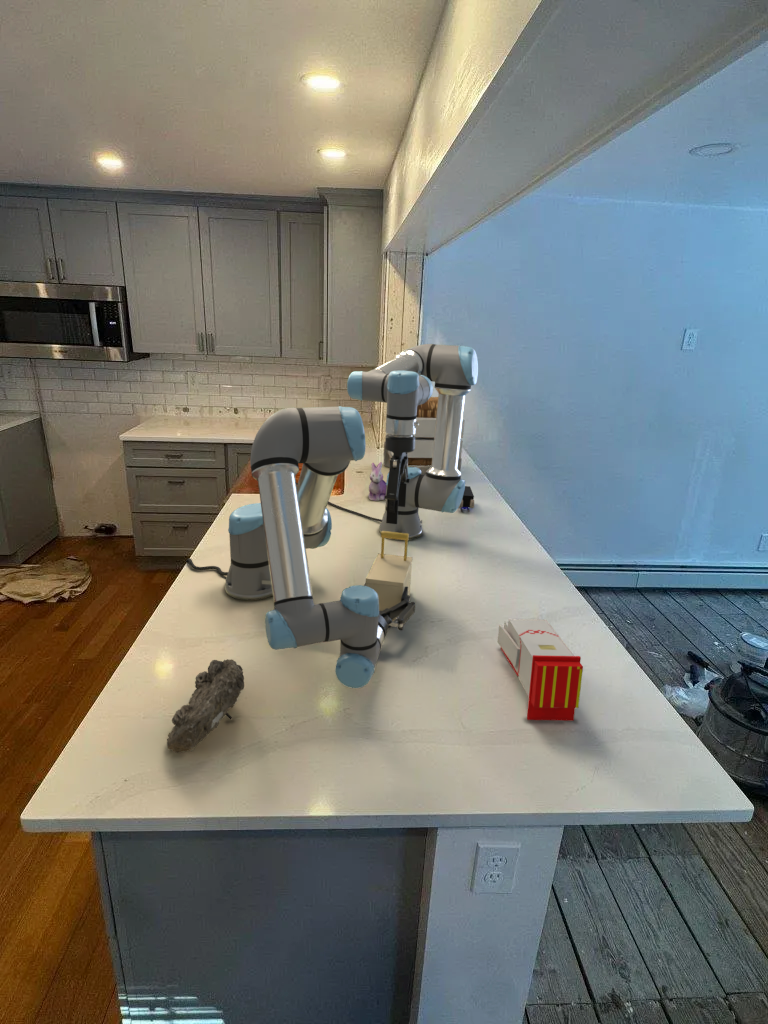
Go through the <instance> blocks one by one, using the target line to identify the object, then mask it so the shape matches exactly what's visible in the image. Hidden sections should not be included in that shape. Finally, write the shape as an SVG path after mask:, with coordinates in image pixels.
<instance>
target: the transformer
mask: <svg viewBox="0 0 768 1024" xmlns="http://www.w3.org/2000/svg"><path fill="white" fill-rule="evenodd" d="M437 405H438V396H431V397H430V399H429V400H427V401H426V402H425V403H423V404H421V405H418V406H417V418H416V421H415V423H418V424H419V425H418V426H417V427H416V432H415V434H414V436H415V449H414V451H412V452H409V453H408V467H417V466H418V467H431V466H432V456H433V446H434V436H435V425H436V415H437ZM385 414H386V415H387V411H386V413H385ZM386 415H385V416H386ZM464 429H465V419H464V418H463V420H462V429H461V438H460V447H459V456H458V465H457V469H458V470H459V471H460V473H461V472H462V461H463V460H462V453H463V442H464V441H463V440H462V439H463V438H464V431H465V430H464ZM386 435H387V433H386V432H385V436H386ZM392 456H393V452H391V451H388V450H386V449H385V441H384V442H383V462H382V465H383V466H384V467H388V468H390V459H391V458H392ZM461 474H462V473H461Z"/></svg>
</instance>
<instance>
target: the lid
mask: <svg viewBox="0 0 768 1024" xmlns="http://www.w3.org/2000/svg"><path fill="white" fill-rule="evenodd" d="M380 538H381V545H380V549H381V550H380V553H377V555H376V557H375V559H374V560H373V563H372V565H371V567H370V569H369V571H368V573H367V575H366V577H365V583H366V582H369V583H377V584H385V585H393V586H401V587H403V586H404V583H405V580H406V577H407V574H408V572H409V569H410V566H411V563H412V564H413V556H412V557H411V556H408V542H409V540H408V539H409V534H407V533H398V532H389V531H382V532H381V534H380ZM385 539H389V540H395V539H399V540H398V541H404V550H403V555H397V554H396V555H395V554H387V553H385V541H386V540H385Z"/></svg>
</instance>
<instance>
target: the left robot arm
mask: <svg viewBox="0 0 768 1024" xmlns="http://www.w3.org/2000/svg"><path fill="white" fill-rule="evenodd" d="M366 443H367V442H366V432H365V427H364V423H363V419H362V415H361V414H360V412H359V410H358V409H357V408H354V407H351V406H341V405H338V406H317V407H316V406H315V407H312V406H311V407H285V408H282V409H279V410H276V412H274V413H273V414H271V415H270V416H269V417H267V419H265V421H264V422H263V423H262V425H261V426H260V427H259V429H258V431H257V432H256V435H255V436H254V439H253V442H252V445H251V451H250V457H249V458H250V459H249V460H250V461H249V464H250V465H249V466H250V471H251V472H250V473H251V477H252V478H253V479H254V480H256V481H257V487H258V493H259V501H260V502H255V503H248V504H245V505H242V506H239V507H237V508H236V509H234V510H233V511H232V512H231V513H230V515H229V517H228V518H229V519H228V529H227V532H228V533H229V553H230V555H229V556H230V565H229V568H228V571H223V570H222V569H221V568H220V567H219V566H217V565H206V566H197V565H195V564H194V561H193V560H192V558H187V559H186V560H185V563H186V564H187V563H189V565H190V567H191V568H192V569H193V570H196V571H208V570H215V571H217V572H218V574H219V575H220V576H226V578H225V581H224V582H225V583H224V589H225V593H226V594H227V595H228V596H230V597H231V598H232V599H233V598H234V599H237V600H241V601H260V600H265V599H268V598H271V597H272V598H273V599H272V600H273V606H274V608H273V609H272V610H268V611H267V612H266V613H265V615H264V616H265V617H264V624H265V625H264V626H265V633H266V635H265V636H266V639H267V640H266V641H267V643H268V645H269V647H270V648H271V649H272V650H274V651H279V650H286V649H297V648H299V647H305V646H310V645H311V646H312V645H315V644H321V643H328V642H334V641H339V642H340V643H339V644H340V645H339V657H337V660H336V663H335V667H334V673H335V676H336V679H337V680H338V681H339V683H340V684H342V685H343V686H345V687H347V688H350V689H360V688H363V687H366V685H368V684H369V683H370V681H371V679H372V677H373V675H374V674H375V670H376V665H377V662H378V660H379V656H380V654H381V651H382V648H383V645H384V642H385V640H386V637H387V634H388V631H389V630H390V629H391V628H392V627H395V628H397V630H398V631H403V629H404V625H405V624H406V623H407V622H408V621H409V619H410V618H411V617H412V616H413V615H414V614H415V613H416V602H415V601H411V595H408V587H405V589H404V592H403V595H402V597H401V602H400V603H398V604H396V605H395V606H393V607H391V608H389V609H388V608H386V609H385V610H383V611H379V599H378V594H377V593H376V592H375V590H373V589H372V588H370V587H367V586H365V585H366V582H364V585H361V584H355V585H350V586H348V587H346V588H344V589H343V590H342V592H341V593H340V594H341V595H340V598H339V600H334V601H328V602H327V601H326V602H320V603H315V601H314V597H313V596H314V594H313V589H312V581H311V574H310V569H309V568H310V567H309V560H308V555H307V550H308V549H312V550H313V549H318V548H321V547H325V546H326V545H327V544H328V543H329V541H330V539H331V535H332V529H333V524H332V523H333V521H332V515H331V513H330V510H329V509H328V508H327V506H328V505H329V504H328V501H329V502H330V498H331V496H332V492H333V490H334V487H335V484H336V482H337V479H338V477H339V475H341V474H342V473H344V472H345V471H346V470H347V469H348V467H349V465H350V464H351V462H352V461H354V462H358V461H361V460H363V458H364V457H365V454H366ZM299 464H302V466H301V470H300V465H299ZM299 472H300V473H299ZM298 473H299V478H298V481H297V480H296V476H297V474H298ZM296 483H298V484H297V485H296ZM397 616H399V617H397ZM394 618H396V619H395V620H394V621H392V619H394Z"/></svg>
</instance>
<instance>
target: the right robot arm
mask: <svg viewBox="0 0 768 1024" xmlns="http://www.w3.org/2000/svg"><path fill="white" fill-rule="evenodd" d="M478 378H479V362H478V355H477V351H476V350H475V349H474V348H473V347H471V346H466V345H465V346H464V345H461V344H460V345H455V344H454V345H452V344H438V343H437V344H436V343H435V344H434V343H425V344H424V343H423V344H418V345H415V346H412V347H409V348H406V349H404V350H402V351H400V352H398V353H397V354H396V355H395V358H393V359H391V360H389V361H387V362H385V363H383V364H381V365H379V366H377V367H375V368H373V369H371V370H369V371H363V370H360V371H359V370H354V371H351V373H350V374H349V376H348V378H347V383H346V391H347V394H348V397H350V398H351V399H352V400H356V401H357V400H359V401H361V402H363V401H364V402H374V403H375V402H376V403H386V412H387V415H385V431H384V432H385V437H384V442H385V449H386V450H388V451H391V452H393V456H392V458H391V459H390V467H389V470H388V473H387V475H386V481H385V482H386V496H384V499H383V500H385V504H384V505H385V507H384V508H385V509H384V513H383V515H382V519H381V518H376V517H372V516H369V515H366V514H363V513H361V512H358V511H354V510H352V509H348V508H345V507H342V506H340V505H338V504H336V503H333V502H331V501H330V500H329V501H328V504H327V505H330V506H333V507H335V508H337V509H340V510H342V511H345V512H348V513H350V514H354V515H357V516H360V517H362V518H365V519H367V520H372V521H375V522H379V525H378V533H379V534H380V535H381V532H382V531H389V532H398V533H407V534H409V539H408V541H410V540H415V539H418V538H420V537H421V536H422V535H423V525H422V524H423V519H421V518H420V515H419V509H424V510H429V511H435V512H441V513H449V514H453V513H456V512H457V511H458V509H460V508H459V506H460V503H461V501H462V498H463V494H464V490H465V486H466V480H465V479H462V473H460V471H459V470H458V469H457V465H458V456H459V447H460V439H462V438H461V429H462V420H463V419H464V408H465V401H466V395H467V394H469V392H471V390H472V386H475V385H476V384H477V382H478ZM433 382H434V386H433ZM434 389H435V391H436V392H437V393H438V394H437V395H438V396H437V397H438V405H437V415H436V425H435V436H434V446H433V456H432V465H430V466H429V468H427V469H426V472H425V473H422V469H421V468H419V467H417V466H408V453H409V452H412V451H414V449H415V436H414V434H415V432H416V427H417V426H418V425H419V424H418V423H415V421H416V418H417V406H418V405H421V404H423V403H425V402H426V401H427V400H429V399H430V397H433V396H432V395H433V392H434ZM386 433H387V435H386ZM297 484H298V482H296V486H297ZM394 540H395V541H400V540H399V539H394Z"/></svg>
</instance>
